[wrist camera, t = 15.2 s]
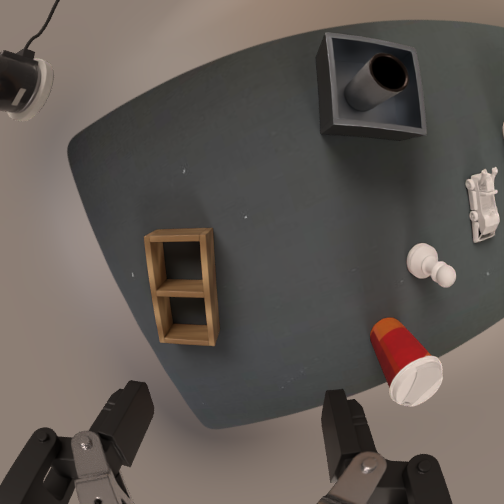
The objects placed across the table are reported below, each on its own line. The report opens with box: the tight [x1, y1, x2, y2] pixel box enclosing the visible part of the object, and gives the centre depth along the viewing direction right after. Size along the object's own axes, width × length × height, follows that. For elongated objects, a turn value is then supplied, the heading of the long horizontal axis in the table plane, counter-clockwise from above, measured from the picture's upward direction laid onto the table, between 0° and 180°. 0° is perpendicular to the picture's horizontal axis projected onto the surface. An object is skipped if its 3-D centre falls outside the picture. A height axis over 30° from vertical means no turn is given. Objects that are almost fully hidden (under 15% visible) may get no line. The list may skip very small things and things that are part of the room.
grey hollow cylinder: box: [345, 53, 409, 111], centre depth 26 cm, size 4×4×10 cm
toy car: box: [465, 167, 500, 243], centre depth 32 cm, size 6×12×4 cm, turn 17°
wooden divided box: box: [144, 228, 220, 346], centre depth 38 cm, size 15×8×4 cm, turn 2°
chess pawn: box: [407, 243, 456, 287], centre depth 33 cm, size 5×5×9 cm
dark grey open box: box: [316, 32, 427, 141], centre depth 28 cm, size 11×11×8 cm
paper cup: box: [370, 318, 443, 406], centre depth 34 cm, size 8×8×14 cm
